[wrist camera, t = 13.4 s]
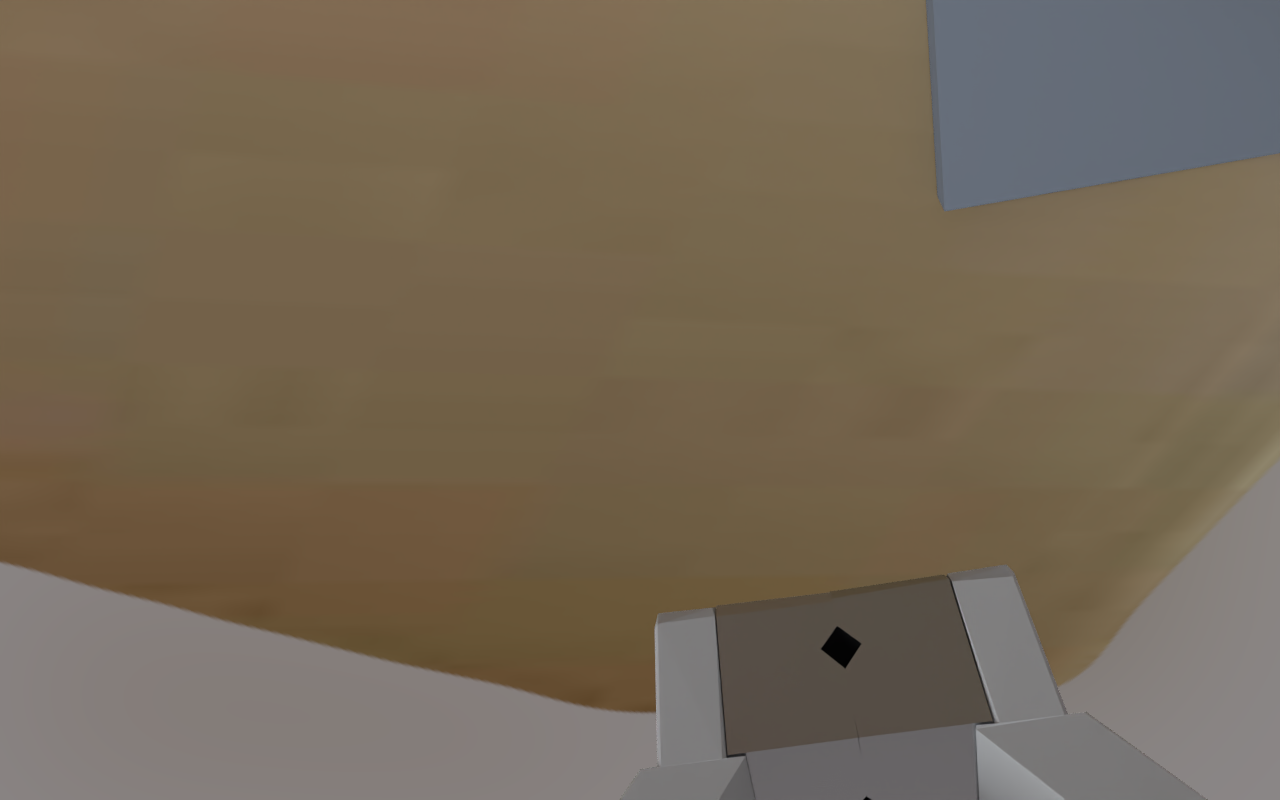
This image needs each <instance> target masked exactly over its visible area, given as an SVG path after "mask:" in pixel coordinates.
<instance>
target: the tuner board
mask: <svg viewBox="0 0 1280 800" xmlns="http://www.w3.org/2000/svg"><path fill="white" fill-rule="evenodd" d="M926 8H927V25H928V42H929V59H930V76H931V93H932V110H933V127H934V144H935V161H936V178H937V195H938V198H939V201H940V203H941V205H942V207H943V209H944V211H949V210H955V209H961V208H966V207H972V206H978V205H984V204H989V203H995V202H1001V201H1007V200H1012V199H1018V198H1024V197H1030V196H1035V195H1041V194H1047V193H1053V192H1058V191H1064V190H1070V189H1076V188H1082V187H1087V186H1093V185H1099V184H1105V183H1110V182H1116V181H1122V180H1128V179H1133V178H1139V177H1145V176H1151V175H1156V174H1162V173H1168V172H1174V171H1179V170H1185V169H1191V168H1197V167H1203V166H1208V165H1214V164H1220V163H1226V162H1231V161H1237V160H1243V159H1249V158H1254V157H1260V156H1266V155H1272V154H1277V153H1280V0H926Z"/></svg>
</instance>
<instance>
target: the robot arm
mask: <svg viewBox="0 0 1280 800" xmlns="http://www.w3.org/2000/svg"><path fill="white" fill-rule="evenodd" d="M655 668H656V716H657V717H656V718H657V767H653V768H647V769H641V770H640V771H639V772H638V773H637V775H636V776H635V778H634V779H633V781H632V782H631V784H630V785H629V787H628V788H627V789H626V791H625V792H624V794H623V795H622V797H621V798H620V800H1207V799H1206V798H1204V797H1203V796H1202V795H1200V794H1199V793H1198V792H1196V791H1195V790H1194V789H1192V788H1191V787H1189V786H1188V785H1186V784H1185V783H1184V782H1182V781H1181V780H1180V779H1178V778H1177V777H1176V776H1174V775H1173V774H1171V773H1170V772H1169V771H1167V770H1166V769H1165V768H1163V767H1162V766H1160V765H1159V764H1158V763H1156V762H1155V761H1153V760H1152V759H1151V758H1149V757H1148V756H1146V755H1145V754H1144V753H1142V752H1141V751H1140V750H1138V749H1137V748H1135V747H1134V746H1133V745H1131V744H1130V743H1128V742H1127V741H1126V740H1124V739H1123V738H1122V737H1120V736H1119V735H1118V734H1116V733H1115V732H1113V731H1112V730H1111V729H1109V728H1108V727H1106V726H1105V725H1103V724H1102V723H1101V722H1099V721H1098V720H1097V719H1095V718H1094V717H1093V716H1091V715H1090V714H1089V713H1087V712H1084V713H1073V714H1068V713H1067V711H1066V708H1065V706H1064V703H1063V700H1062V698H1061V695H1060V693H1059V690H1058V687H1057V684H1056V682H1055V679H1054V677H1053V674H1052V671H1051V669H1050V666H1049V663H1048V661H1047V658H1046V655H1045V653H1044V650H1043V648H1042V645H1041V642H1040V640H1039V637H1038V634H1037V632H1036V629H1035V626H1034V624H1033V621H1032V619H1031V616H1030V613H1029V611H1028V608H1027V605H1026V603H1025V600H1024V598H1023V595H1022V592H1021V590H1020V587H1019V584H1018V582H1017V579H1016V576H1015V574H1014V572H1013V571H1012V570H1011V569H1010V568H1009V567H1008V566H1007V565H1001V566H994V567H988V568H981V569H975V570H968V571H962V572H955V573H949V574H947V576H945V575H937V576H930V577H924V578H917V579H910V580H904V581H897V582H891V583H884V584H877V585H871V586H864V587H857V588H851V589H844V590H837V591H831V592H829V593H821V594H812V595H804V596H795V597H786V598H778V599H769V600H761V601H752V602H744V603H735V604H727V605H718V606H716V607H713V608H704V609H695V610H686V611H677V612H668V613H659V614H658V616H657V621H656V625H655Z"/></svg>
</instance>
